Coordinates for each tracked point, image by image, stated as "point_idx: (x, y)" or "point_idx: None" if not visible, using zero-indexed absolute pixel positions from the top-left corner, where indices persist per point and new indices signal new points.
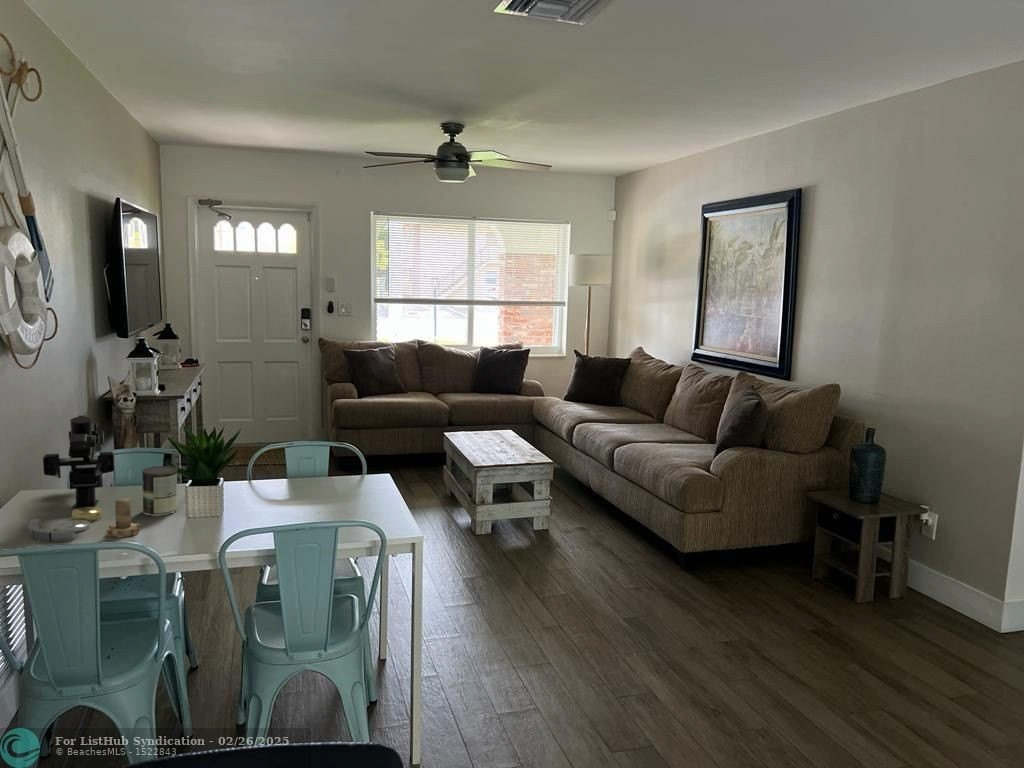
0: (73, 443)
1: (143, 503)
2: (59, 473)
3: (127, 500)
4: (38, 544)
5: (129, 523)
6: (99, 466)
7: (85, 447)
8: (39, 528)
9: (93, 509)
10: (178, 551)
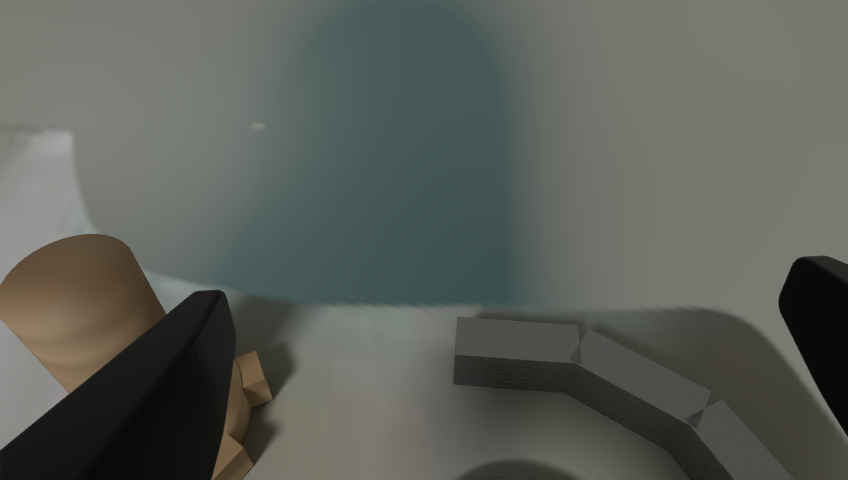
0: None
1: None
2: (840, 272)
3: (27, 283)
4: (618, 327)
5: None
6: (5, 451)
7: None
8: (698, 431)
9: None
10: (23, 150)
